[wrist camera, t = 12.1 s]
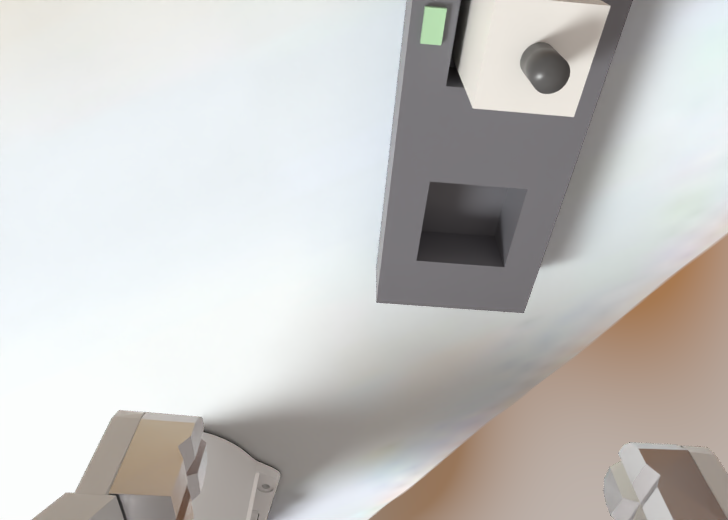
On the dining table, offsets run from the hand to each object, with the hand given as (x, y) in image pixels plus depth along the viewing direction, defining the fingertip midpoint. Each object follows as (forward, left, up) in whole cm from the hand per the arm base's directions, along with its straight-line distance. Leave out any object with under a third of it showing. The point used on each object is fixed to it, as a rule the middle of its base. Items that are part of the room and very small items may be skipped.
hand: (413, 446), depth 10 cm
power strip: (-2, -6, -24) cm, 25 cm away
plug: (+3, -6, -24) cm, 25 cm away
